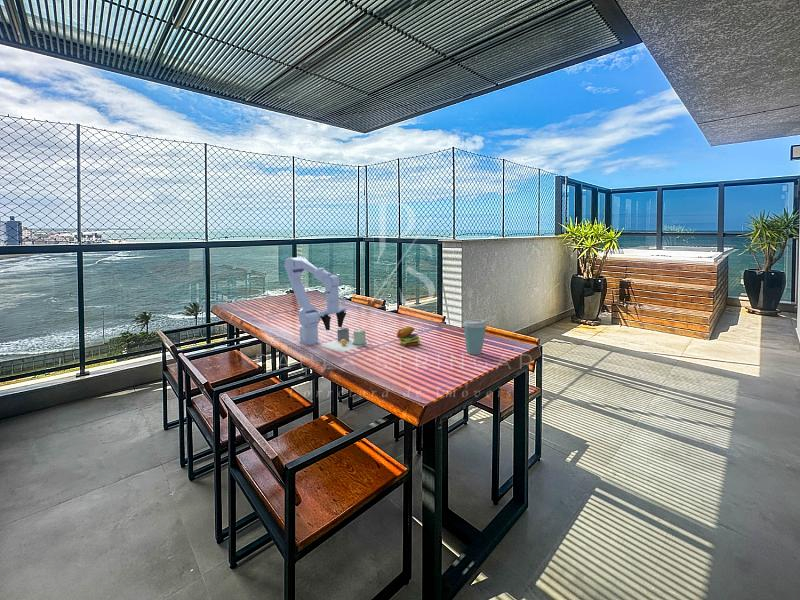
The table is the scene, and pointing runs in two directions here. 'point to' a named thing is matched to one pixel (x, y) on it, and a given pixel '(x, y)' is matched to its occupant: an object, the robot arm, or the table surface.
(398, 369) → the table surface
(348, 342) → the mat
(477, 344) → the disposable coffee cup
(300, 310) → the robot arm
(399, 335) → the cheeseburger
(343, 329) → the grey acorn nut
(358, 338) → the green acorn nut
